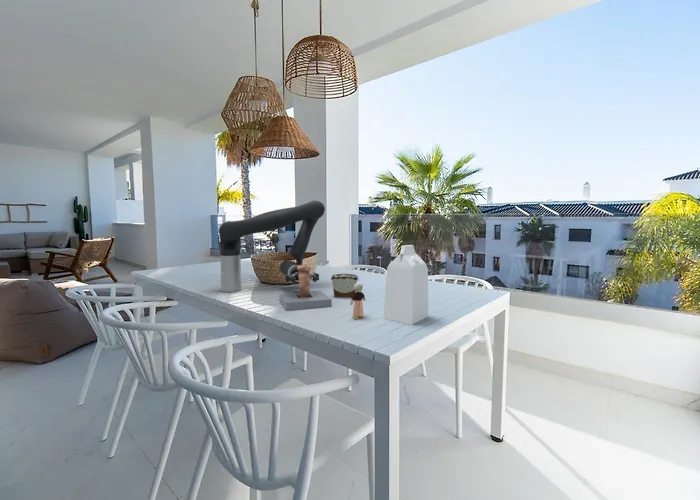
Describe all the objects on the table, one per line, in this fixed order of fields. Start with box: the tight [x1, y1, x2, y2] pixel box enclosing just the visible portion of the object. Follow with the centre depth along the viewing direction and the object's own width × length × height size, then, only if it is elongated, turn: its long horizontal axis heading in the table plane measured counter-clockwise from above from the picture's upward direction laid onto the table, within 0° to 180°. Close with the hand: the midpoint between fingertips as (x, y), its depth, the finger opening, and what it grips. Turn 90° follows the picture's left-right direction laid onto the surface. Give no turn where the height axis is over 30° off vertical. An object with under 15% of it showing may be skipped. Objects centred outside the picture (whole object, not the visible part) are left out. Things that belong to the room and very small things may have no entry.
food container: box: [330, 273, 359, 299], centre depth 158 cm, size 12×6×10 cm, turn 84°
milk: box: [383, 244, 429, 325], centre depth 125 cm, size 12×12×26 cm
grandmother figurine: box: [349, 281, 366, 320], centre depth 126 cm, size 8×4×13 cm, turn 148°
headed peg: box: [297, 264, 312, 298], centre depth 146 cm, size 6×6×16 cm
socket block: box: [278, 289, 333, 311], centre depth 146 cm, size 18×18×3 cm
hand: (305, 280), depth 143 cm, fingers open, 8 cm apart
